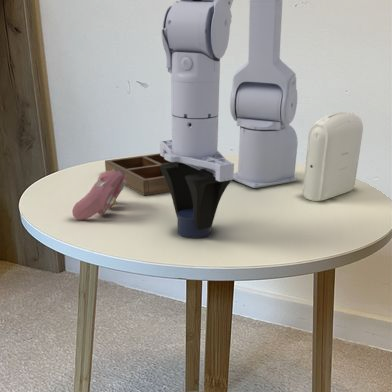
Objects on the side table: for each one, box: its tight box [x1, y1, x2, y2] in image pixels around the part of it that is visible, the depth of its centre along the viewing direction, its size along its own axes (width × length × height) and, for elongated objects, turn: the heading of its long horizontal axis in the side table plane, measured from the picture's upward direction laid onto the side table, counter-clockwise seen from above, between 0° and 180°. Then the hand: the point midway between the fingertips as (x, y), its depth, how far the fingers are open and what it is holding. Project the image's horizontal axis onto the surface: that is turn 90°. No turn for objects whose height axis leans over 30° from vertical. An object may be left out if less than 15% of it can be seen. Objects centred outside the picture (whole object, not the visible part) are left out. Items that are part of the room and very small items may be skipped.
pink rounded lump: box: [71, 169, 127, 221], centre depth 86 cm, size 10×5×7 cm, turn 169°
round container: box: [177, 209, 211, 239], centre depth 80 cm, size 4×4×3 cm
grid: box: [104, 152, 171, 197], centre depth 102 cm, size 14×14×2 cm
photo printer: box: [302, 111, 364, 202], centre depth 93 cm, size 10×4×12 cm, turn 133°
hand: (193, 222), depth 80 cm, fingers closed on round container, 4 cm apart
